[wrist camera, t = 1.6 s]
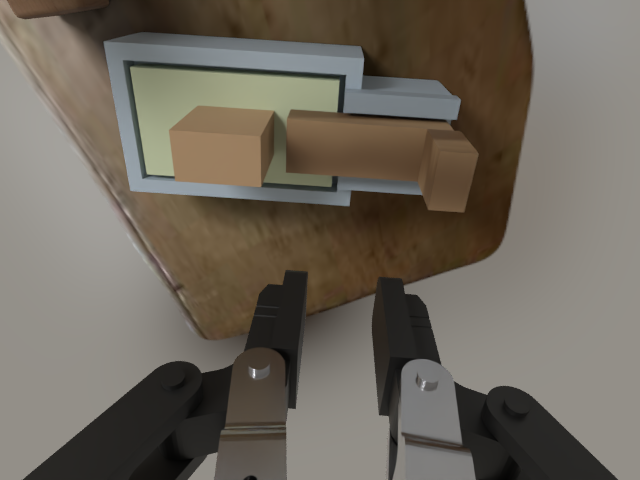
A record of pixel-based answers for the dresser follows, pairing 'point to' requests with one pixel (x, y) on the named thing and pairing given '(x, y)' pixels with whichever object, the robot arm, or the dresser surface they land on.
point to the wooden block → (53, 7)
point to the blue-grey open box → (270, 57)
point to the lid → (224, 122)
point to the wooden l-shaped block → (384, 152)
